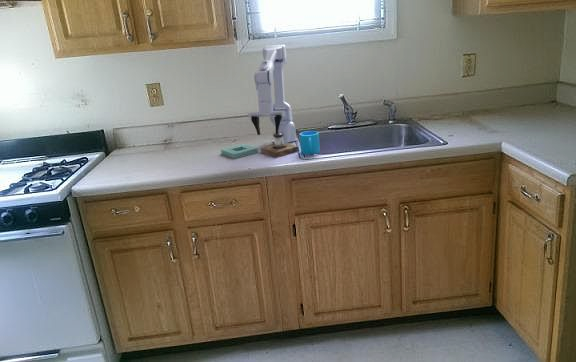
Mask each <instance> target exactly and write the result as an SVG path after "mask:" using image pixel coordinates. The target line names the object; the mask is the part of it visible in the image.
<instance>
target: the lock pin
mask: <svg viewBox="0 0 576 362" xmlns="http://www.w3.org/2000/svg"><path fill="white" fill-rule="evenodd" d="M283 135H284V134H283V133H278V134H276V133H275V132H274V133H273V134H272V137H273V141H274V142H273V143H274V144H275V149H282V148H284V141H283Z"/></svg>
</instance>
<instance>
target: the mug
mask: <svg viewBox="0 0 576 362" xmlns="http://www.w3.org/2000/svg"><path fill="white" fill-rule="evenodd" d="M299 145H300V154H302V155H316V154H319V153H320V152H321V147H320V146H321V145H320V133H319V131H316V130H308V131H303V132H300V133H299Z"/></svg>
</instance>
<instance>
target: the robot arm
mask: <svg viewBox="0 0 576 362" xmlns="http://www.w3.org/2000/svg"><path fill="white" fill-rule="evenodd" d="M262 58H263V61H261V63H260V65H259V68H258V70H257V71H256V72H254V76H253V80H254V84H255V90H256V92H257V101H258V103H257V104H258V111H255V112H252V111H251V112H248V118H250V120H251V123H252V124H253V126H254V127H255V130H256V133H257V136H260V135H261V129H260V127H261V126H260V118H263V117H264V118H266V117H269V121H270V122H271V123H272V125H273V126H274V133H276V134H278V133H283V134H284V135H283V141H284V143H288V144H289V143H292V142H295V141H298V138H297V134H296V133H297V132H296V124H295V123H294V122H293V111H292V106H291V105H290V104H289V103H288V102H286V99H285V95H286V94H285V82H284V81H285V80H284V66H285V65H286V64H287V61H288V56H287V47H286V45H285V44H277V45H264V46H263V48H262ZM272 85H273V90H272ZM272 91H274V93H273V92H272ZM273 94H274V96H273ZM273 97H274V103H273ZM271 142H272V143H274V140H271Z"/></svg>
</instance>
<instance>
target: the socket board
mask: <svg viewBox="0 0 576 362" xmlns="http://www.w3.org/2000/svg"><path fill="white" fill-rule="evenodd" d="M220 151H221V155H224V156H227V157H229V158H231V159H239V158H243V157H246V156H250V155H254V154H256V153H257V154H258V153H259V150H258V147H255V146H253V145H249V144H246V143H241V144H238V145H234V146H230V147H226V148H221V150H220Z"/></svg>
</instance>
